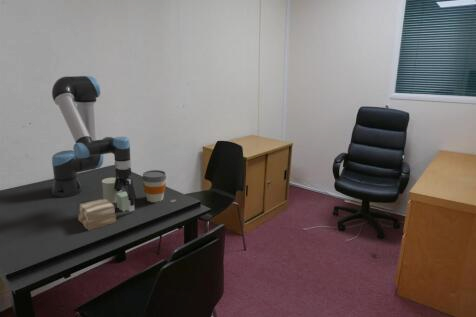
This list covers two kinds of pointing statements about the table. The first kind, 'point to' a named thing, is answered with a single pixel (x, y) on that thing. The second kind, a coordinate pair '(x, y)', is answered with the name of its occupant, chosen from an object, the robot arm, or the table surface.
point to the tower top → (97, 209)
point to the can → (109, 190)
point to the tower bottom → (96, 221)
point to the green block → (122, 201)
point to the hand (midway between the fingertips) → (125, 206)
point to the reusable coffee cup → (154, 185)
